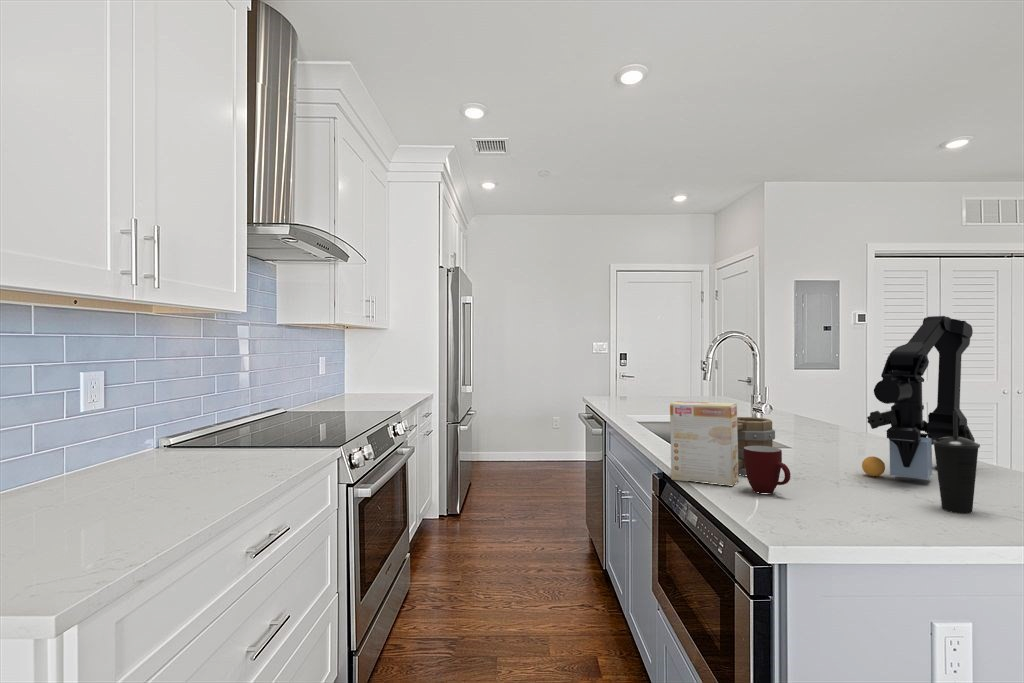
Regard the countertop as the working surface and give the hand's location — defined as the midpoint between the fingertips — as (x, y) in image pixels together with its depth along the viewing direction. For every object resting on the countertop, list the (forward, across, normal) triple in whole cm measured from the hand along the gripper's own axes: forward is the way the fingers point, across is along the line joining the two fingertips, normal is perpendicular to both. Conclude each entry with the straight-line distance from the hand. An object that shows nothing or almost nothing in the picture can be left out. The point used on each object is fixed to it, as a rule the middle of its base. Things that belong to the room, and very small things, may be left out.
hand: (909, 464), depth 139 cm
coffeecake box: (+4, +32, -38) cm, 50 cm away
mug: (+4, +34, -22) cm, 41 cm away
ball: (+2, 0, -8) cm, 8 cm away
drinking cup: (+4, +23, +11) cm, 26 cm away
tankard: (+4, +18, -34) cm, 39 cm away
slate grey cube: (+2, 0, 0) cm, 2 cm away
